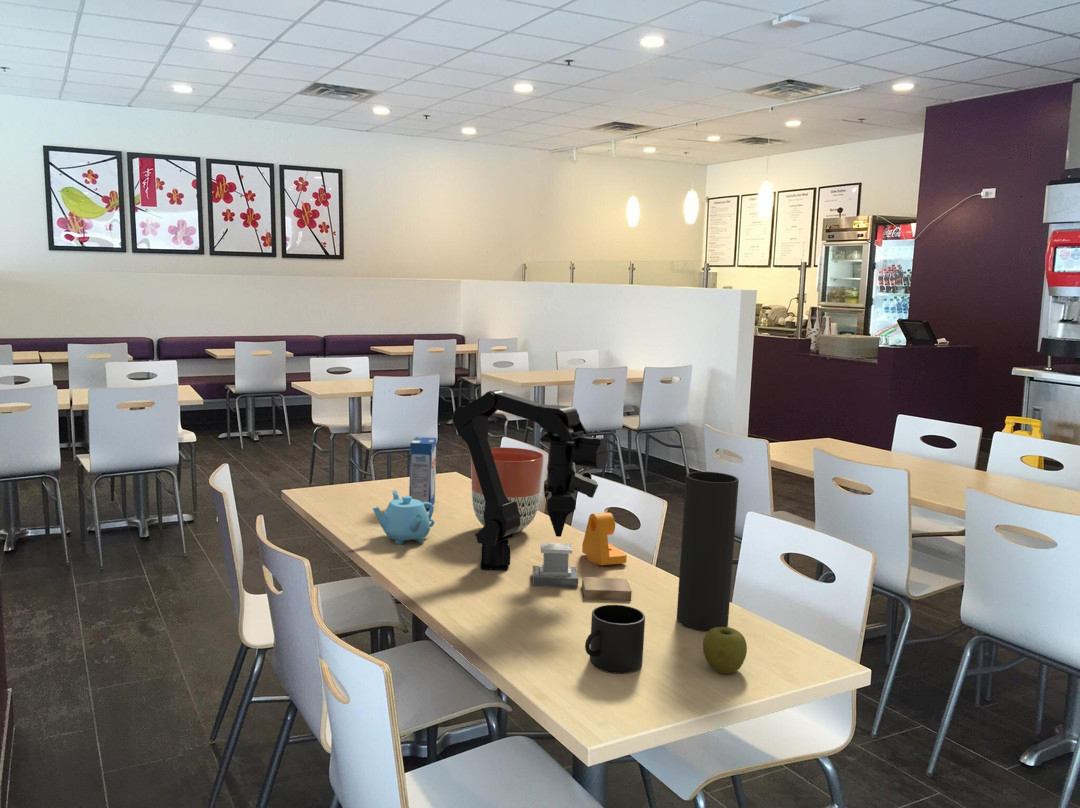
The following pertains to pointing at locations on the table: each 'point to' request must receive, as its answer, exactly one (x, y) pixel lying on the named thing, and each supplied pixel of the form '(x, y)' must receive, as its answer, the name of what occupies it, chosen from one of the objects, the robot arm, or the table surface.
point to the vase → (707, 550)
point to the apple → (724, 649)
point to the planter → (513, 482)
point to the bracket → (601, 541)
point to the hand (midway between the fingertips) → (557, 530)
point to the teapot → (405, 519)
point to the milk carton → (423, 470)
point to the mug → (616, 638)
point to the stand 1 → (555, 579)
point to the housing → (555, 559)
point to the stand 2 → (606, 588)
